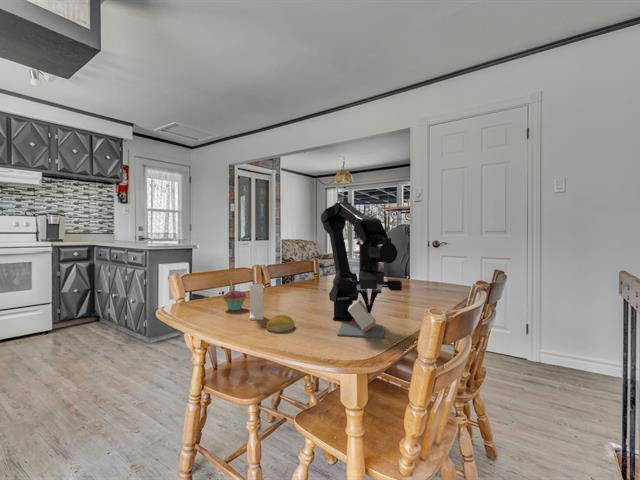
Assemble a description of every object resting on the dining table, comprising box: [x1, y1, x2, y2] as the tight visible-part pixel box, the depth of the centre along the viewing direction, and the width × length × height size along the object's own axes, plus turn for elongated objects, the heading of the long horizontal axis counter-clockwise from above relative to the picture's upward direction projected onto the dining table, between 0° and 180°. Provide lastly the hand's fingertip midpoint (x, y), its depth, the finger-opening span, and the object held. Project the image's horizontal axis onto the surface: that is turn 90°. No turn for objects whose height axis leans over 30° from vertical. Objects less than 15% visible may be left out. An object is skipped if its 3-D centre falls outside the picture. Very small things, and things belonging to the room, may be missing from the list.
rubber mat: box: [337, 323, 385, 339], centre depth 101 cm, size 13×11×1 cm
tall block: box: [348, 298, 377, 332], centre depth 100 cm, size 4×5×8 cm
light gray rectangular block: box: [249, 283, 264, 321], centre depth 117 cm, size 5×6×12 cm
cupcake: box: [223, 278, 247, 311], centre depth 130 cm, size 9×8×12 cm
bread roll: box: [265, 314, 296, 333], centre depth 104 cm, size 8×9×4 cm
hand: (369, 312), depth 100 cm, fingers closed
